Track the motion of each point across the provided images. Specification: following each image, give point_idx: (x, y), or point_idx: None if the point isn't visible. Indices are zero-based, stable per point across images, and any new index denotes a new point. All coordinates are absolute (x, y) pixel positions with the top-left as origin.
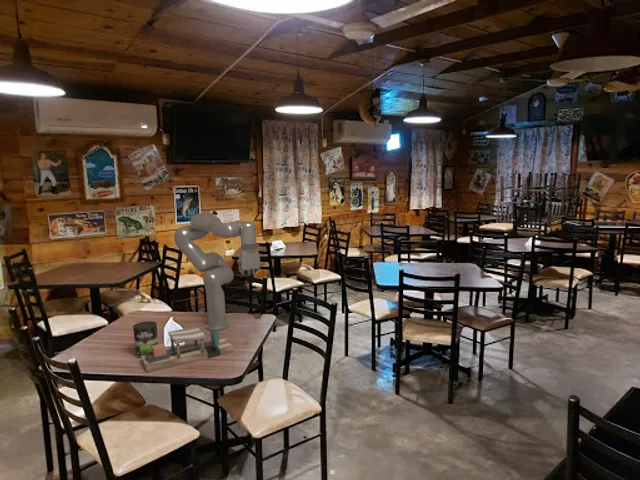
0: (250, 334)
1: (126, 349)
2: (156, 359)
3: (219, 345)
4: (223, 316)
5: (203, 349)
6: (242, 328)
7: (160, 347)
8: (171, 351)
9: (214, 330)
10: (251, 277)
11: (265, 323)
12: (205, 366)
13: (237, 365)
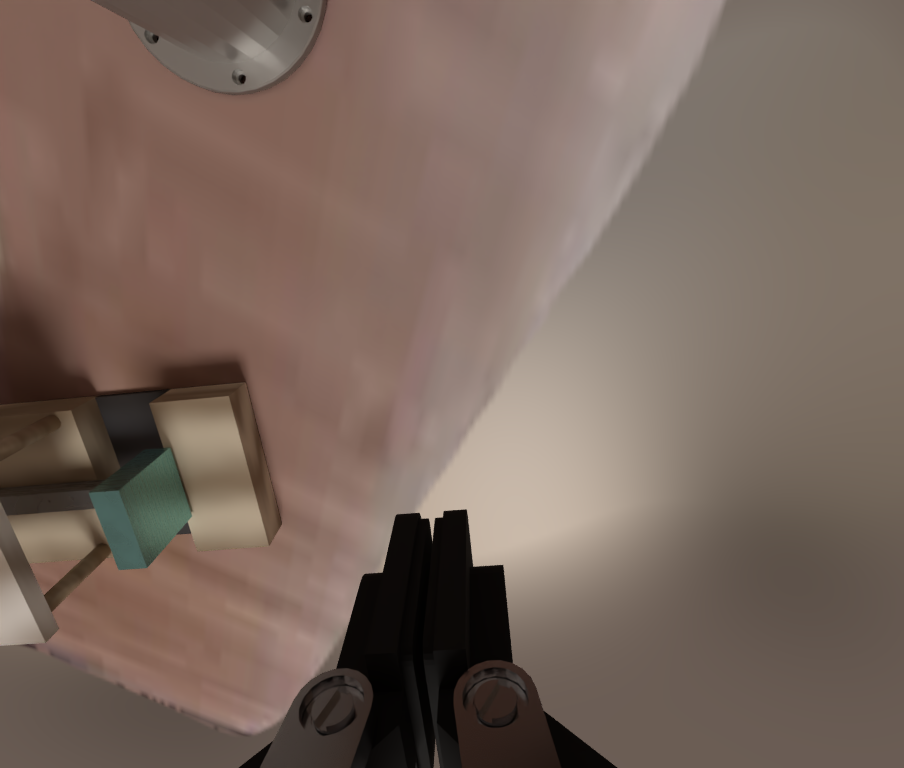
0: (436, 311)
1: None
2: None
3: (195, 504)
4: (235, 16)
5: (95, 568)
6: (415, 150)
7: None
8: None
9: (119, 510)
10: (434, 736)
11: (620, 124)
12: (139, 606)
13: (280, 656)
